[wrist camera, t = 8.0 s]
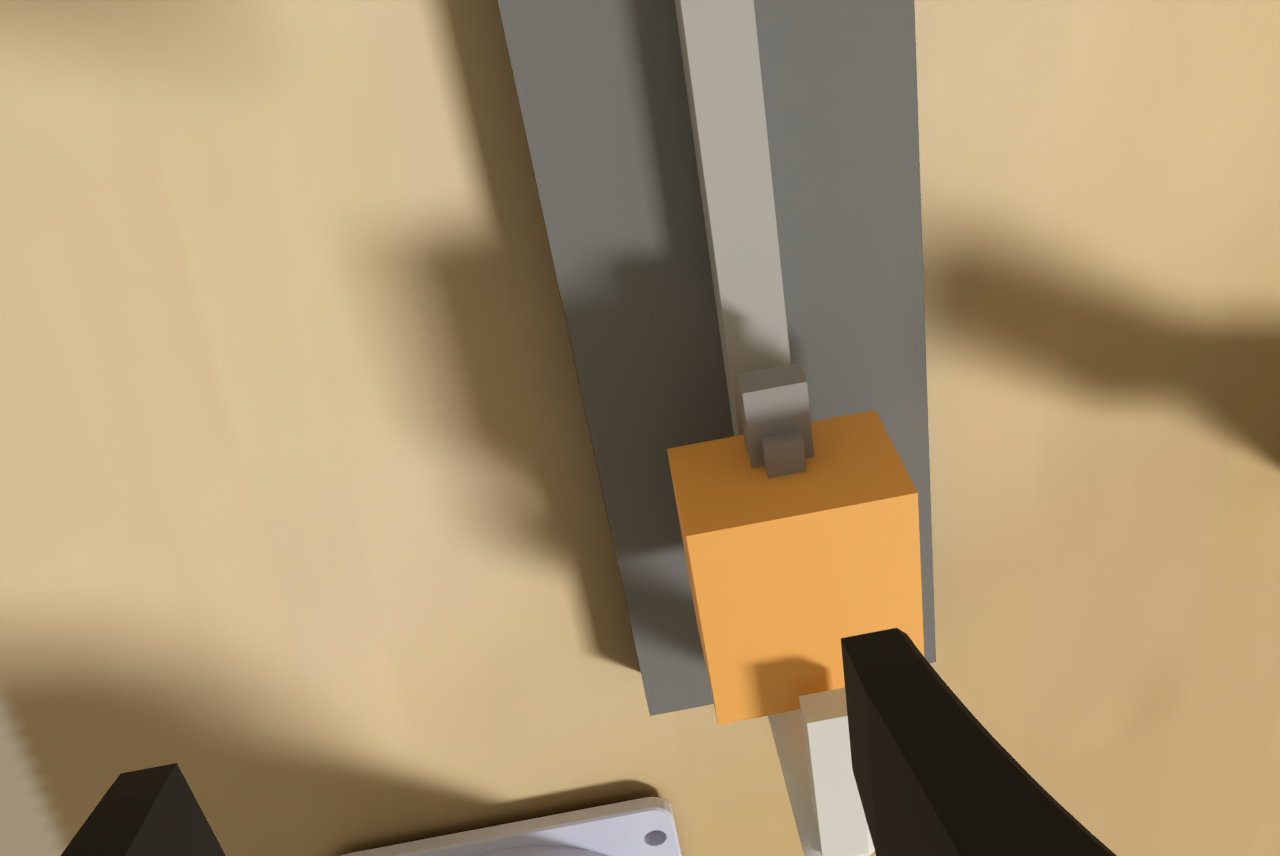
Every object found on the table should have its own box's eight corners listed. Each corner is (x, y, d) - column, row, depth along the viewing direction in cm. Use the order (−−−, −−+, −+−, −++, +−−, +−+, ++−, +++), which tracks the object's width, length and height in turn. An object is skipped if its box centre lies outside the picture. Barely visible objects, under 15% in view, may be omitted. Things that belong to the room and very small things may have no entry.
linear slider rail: (918, 623, 26) (1016, 843, 21) (644, 674, 26) (678, 907, 21) (886, -128, 18) (1033, -53, 13) (489, -54, 18) (487, 49, 13)
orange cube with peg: (885, 593, 22) (925, 686, 20) (698, 628, 22) (718, 724, 20) (870, 336, 19) (914, 413, 17) (654, 377, 19) (673, 459, 17)
